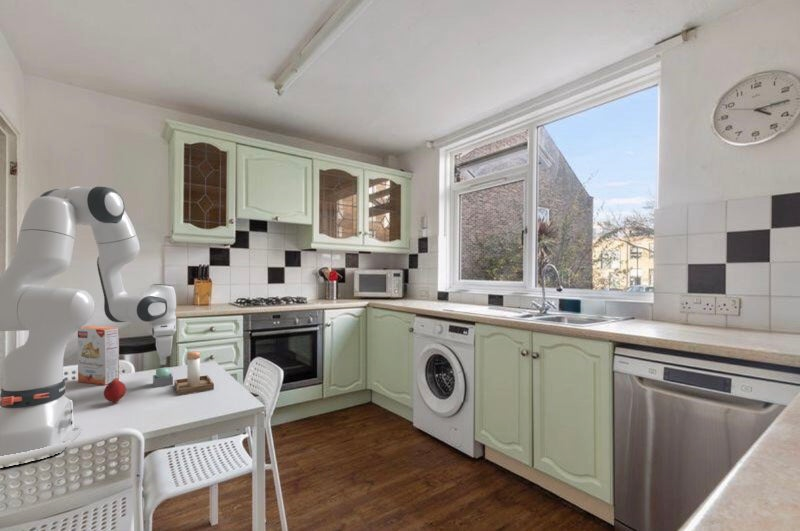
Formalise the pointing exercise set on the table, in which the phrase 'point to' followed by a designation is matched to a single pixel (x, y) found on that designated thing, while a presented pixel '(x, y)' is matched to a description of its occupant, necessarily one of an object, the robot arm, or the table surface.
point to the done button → (162, 372)
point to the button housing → (162, 381)
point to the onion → (114, 391)
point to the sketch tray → (184, 389)
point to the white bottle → (193, 368)
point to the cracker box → (98, 354)
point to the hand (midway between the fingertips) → (162, 363)
